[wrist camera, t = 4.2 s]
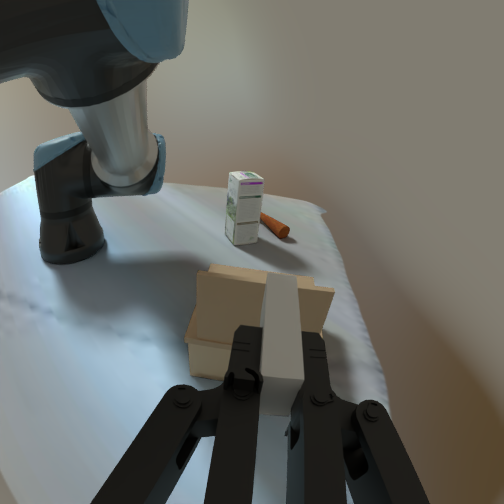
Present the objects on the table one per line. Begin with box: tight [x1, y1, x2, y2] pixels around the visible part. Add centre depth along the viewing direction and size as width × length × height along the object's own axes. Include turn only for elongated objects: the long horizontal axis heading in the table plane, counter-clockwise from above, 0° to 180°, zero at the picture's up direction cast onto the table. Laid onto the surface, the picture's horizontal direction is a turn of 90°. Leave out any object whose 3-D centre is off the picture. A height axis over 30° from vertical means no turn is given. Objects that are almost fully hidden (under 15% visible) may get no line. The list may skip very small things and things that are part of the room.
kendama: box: [260, 212, 290, 239], centre depth 73 cm, size 6×6×20 cm
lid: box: [184, 264, 335, 350], centre depth 33 cm, size 15×15×9 cm
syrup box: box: [225, 171, 264, 245], centre depth 61 cm, size 6×6×14 cm
